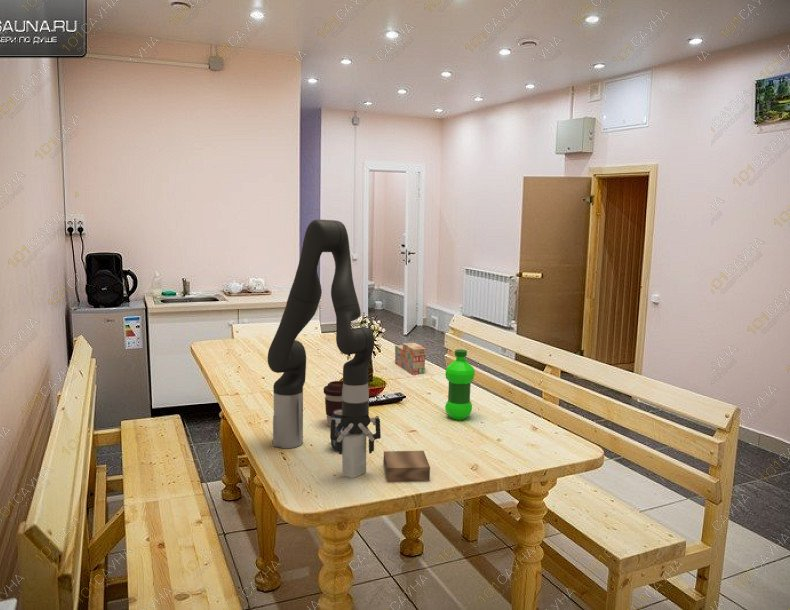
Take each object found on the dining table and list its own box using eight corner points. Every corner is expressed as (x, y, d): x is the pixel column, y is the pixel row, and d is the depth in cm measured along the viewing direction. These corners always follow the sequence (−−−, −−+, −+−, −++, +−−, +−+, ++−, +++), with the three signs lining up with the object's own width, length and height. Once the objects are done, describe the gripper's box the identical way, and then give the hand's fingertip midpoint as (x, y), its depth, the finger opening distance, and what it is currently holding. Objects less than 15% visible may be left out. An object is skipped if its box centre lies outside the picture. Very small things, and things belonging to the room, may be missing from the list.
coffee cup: (325, 431, 214) (326, 388, 212) (321, 421, 223) (321, 380, 221) (354, 428, 217) (355, 386, 214) (348, 419, 226) (349, 378, 224)
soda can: (353, 444, 203) (353, 408, 201) (352, 452, 196) (353, 415, 194) (331, 443, 203) (331, 408, 201) (330, 452, 196) (330, 415, 194)
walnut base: (387, 481, 176) (387, 468, 176) (383, 464, 188) (383, 451, 187) (429, 480, 178) (430, 467, 177) (423, 463, 189) (423, 450, 189)
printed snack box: (394, 363, 305) (395, 339, 303) (406, 363, 308) (407, 338, 306) (412, 375, 286) (413, 348, 284) (425, 374, 288) (425, 347, 286)
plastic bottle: (474, 414, 234) (477, 348, 230) (469, 423, 224) (472, 355, 220) (447, 411, 237) (450, 346, 233) (441, 420, 227) (444, 352, 223)
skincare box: (355, 468, 185) (356, 429, 183) (366, 472, 182) (367, 432, 180) (341, 474, 180) (341, 434, 178) (352, 479, 178) (352, 438, 176)
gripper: (330, 402, 173) (330, 458, 176) (381, 401, 175) (381, 457, 177) (329, 394, 181) (330, 448, 183) (379, 393, 182) (379, 447, 185)
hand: (355, 452), depth 180 cm, fingers open, 8 cm apart
